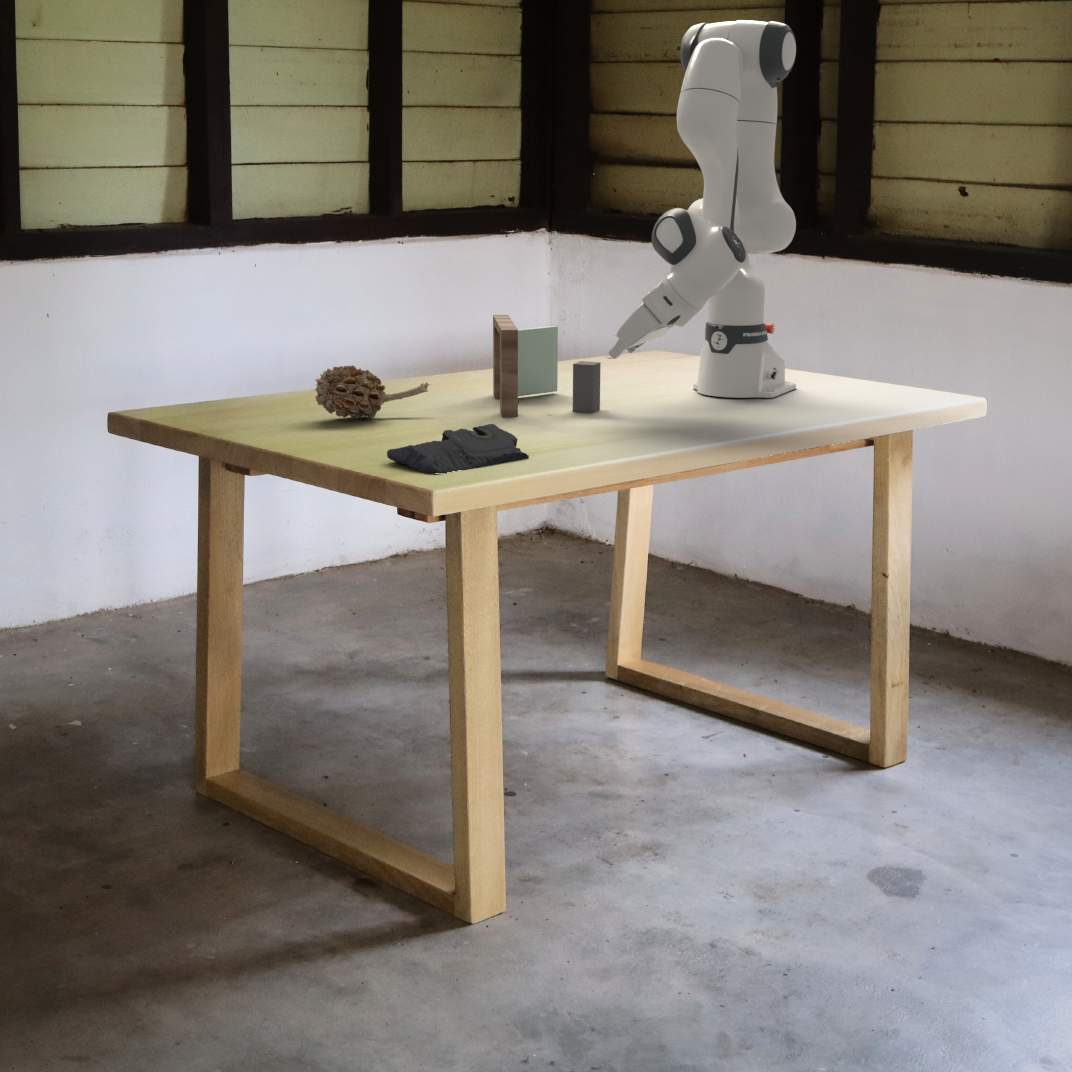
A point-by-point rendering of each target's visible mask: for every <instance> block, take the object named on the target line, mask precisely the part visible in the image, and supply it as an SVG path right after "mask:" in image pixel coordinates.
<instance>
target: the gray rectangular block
mask: <svg viewBox="0 0 1072 1072" xmlns="http://www.w3.org/2000/svg"><path fill="white" fill-rule="evenodd" d="M599 410H601V362H600V361H587V360H586V361H584V360H583V361H581V360H580V361H577V362H575V363H574V362H573V363H572V412H574V413H575V412H576V413H589V414H593V413H596V412H597V411H599Z"/></svg>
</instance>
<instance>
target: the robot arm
mask: <svg viewBox="0 0 1072 1072" xmlns="http://www.w3.org/2000/svg"><path fill="white" fill-rule="evenodd" d="M679 50H680V51H679V59H680V63H681V68H682V69H683V70H684V72H685V73H684V76H683V80H682V85H681V89H680V94H679V97H678V104H677V107H676V108H677V109H676V128H677V132H678V134H679V137H680V138H681V140H682V142H683V143H684V144H685V146H686V147H687V148H688V150H689V151H690V153H691V154H692V155H693V157H694V159H695V160H696V162H697V164H698V166H699V168H700V170H701V173H702V177H703V196H702V198H699V199H697V200H695V201H693V202H692V203H691V205H690V206H689V207H688V208H687V209H684V208H681V207H675V208H671V209H668V210H667V211H665V212H664V213H663V214H662V215H660V217H659V218H658V219H657V221H656V222H655V223H654V226H653V229H652V232H651V245H652V247H653V249H654V251H655V252H656V253H657V254H658V256H660V257H661V258H662V259H663V260H664V261H665V262H667V263H668V264H669V266H670V267H671V268H670V270H669V272H668V273H667V274H666V275H664V277H663V278H661V280H660V281H658V283H656V285H655V286H654V287H652V288H651V289H650V290H649V291H648V292H647V293H646V294H645V295H643V297H642V298H641V301H642V303H641V304H640V305H639V306H638V307H636V309H634V311H633V312H632V313H631V314H630V315H629V316H628V317H627V319H626V320H625V321H624V322H623V324H621V326H620V327H619V328H618V329H617V332H616V337H617V341H616V343H615V344H614V346H613V347H612V348H611V349H609V351H608V355H609V356H610V357H611V358H612V359H613V360H615V359H616V360H617V359H618V358H619V357H620V356H622V354H624V352H625V351H626V350H627V352H628V353H629V354H632V353H635V352H636V351H637V350H638V349H639V348H640V347H642V346H643V345H645V344H646V343H647V342H650V341H653V340H656V339H658V338H661V337H663V335H664V336H665V334H666V333H667V332H668V331H669V330H670V329H671V328H673V327H675V326H677V327H684V326H685V325H686V324H687V323H688V322H689V321H691V319H692V318H693V317H694V316H695V315H696V314H698V312H700V311H701V310H702V309H703V308H704V306H705V305H706V303H707V302H708V303H707V309H708V310H707V322H706V323H705V328H704V341H705V340H706V343H705V346H704V347H703V348H702V349H701V351H700V358H699V365H698V366H699V367H698V375H697V382H694V383H693V384H692V385H693V386H692V388H693V389H694V390H697V391H696V392H697V393H699V394H700V395H705V396H712V397H719V398H738V399H739V398H740V399H742V398H743V399H745V398H746V399H747V398H749V399H750V398H763V399H765V398H766V399H767V398H768V399H769V398H770V399H772V398H776V397H779V396H780V395H783V394H785V393H788V392H790V391H792V390H795V389H797V384H796V383H795V382H791V381H787V380H786V379H785V378H786V375H785V374H786V367H785V360H784V359H783V357H782V356H781V355H780V354H779V353H778V352H777V351H776V350H775V349H774V348H773V347H772V346H771V344H769V342H768V341H769V337H768V334H769V335H772V334H774V332H775V327H776V326H775V325H774V323H764V314H765V294H766V292H765V289H766V288H765V283H764V281H763V280H762V279H761V277H760V276H758V274H757V273H756V272H755V270H754V269H753V267H752V264H751V262H750V257H749V254H750V255H751V254H752V255H766V254H772V253H776V252H781V251H782V250H785V249H786V248H788V246H789V245H790V244H791V243H792V241H793V239H794V237H795V234H796V230H797V228H796V227H797V220H796V216H795V213H794V212H795V211H793V209H792V207H791V206H790V205H789V204H788V202H786V201H785V199H784V197H783V194H782V193H781V191H780V187H779V185H778V181H777V176H776V169H775V152H776V151H775V148H776V137H777V136H776V135H777V134H776V133H777V123H778V86H779V84H780V83H781V81H783V80H784V79H786V78H787V77H788V75H790V74H789V73H790V72H791V71H792V69H793V67H794V64H795V60H796V54H797V43H796V36H795V34H794V32H793V30H792V28H790V26H789V25H788V24H785V23H783V22H779V21H773V20H770V21H768V22H767V21H763V20H762V21H761V20H760V21H759V20H748V19H747V20H746V19H737V20H736V21H735V20H732V21H721V22H720V21H719V22H712V23H710V22H701V23H697V24H694V25H692V26H691V27H689V28H688V30H686V32H685V33H684V35H683V37H682V39H681V43H680V49H679ZM785 380H786V381H785Z"/></svg>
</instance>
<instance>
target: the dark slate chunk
mask: <svg viewBox="0 0 1072 1072" xmlns="http://www.w3.org/2000/svg"><path fill="white" fill-rule="evenodd" d="M441 435H442V438H441V440H432V441H426V442H421V443H418V444H415V445H414V444H413V445H412V444H409V445H406V446H402V447H398V448H390V449H388V450H387V451H386V457H387V459H389V460H391V461H393V462H395V463H399V462H400V463H399V464H403V465H406V464H407V465H406V466H409V467H410V468H411V469H415V470H416V469H417V471H419V470H421V471H423V472H422V473H424V472H428V473H427V474H429V473H445V474H448V473H447V472H451V473H453V472H452V471H455V472H459V471H458V470H462V471H467V470H473V469H479V468H484V467H485V468H487V467H489V466H490V467H491V466H495V465H501V464H502V465H503V464H506V463H514V462H517V461H523V459H524V460H529V459H530V457H529V456H530V455H528V454H527V453H526V452H523V451H522V450H521V448H519V447H517V445H518V444H517V443H518V438H517V437H516V436H515V435H514V434H512V433H511V432H509V431H506V430H504V429H502V428H500V427H499V426H497V425H496V424H494V423H488V424H483V425H478V426H473V427H472V430H471V429H470V430H469V429H467V428H459V429H457V430H452V429H445V430H444V431H443V432H442V434H441ZM421 471H420V472H421Z"/></svg>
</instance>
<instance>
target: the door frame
mask: <svg viewBox="0 0 1072 1072" xmlns="http://www.w3.org/2000/svg"><path fill="white" fill-rule="evenodd" d="M492 360H493V361H492V363H493V364H492V371H493V373H492V374H493V376H492V385H493V386H492V387H493V388H492V391H493V392H492V395H493V398H494V399H500V400H499V401H500V402H499V404H500V405H499V406H500V407H499V413H500V416H501V417H508V418H509V417H519V396H518V328H517V326H516V324H515V322H514V321H513V320H512V318H511V317H510V316H509V314H493V315H492Z"/></svg>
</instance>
